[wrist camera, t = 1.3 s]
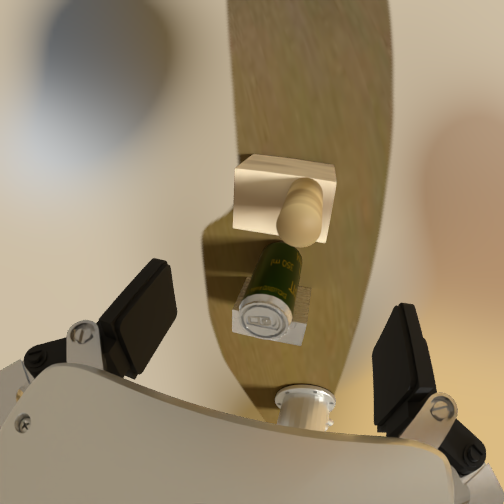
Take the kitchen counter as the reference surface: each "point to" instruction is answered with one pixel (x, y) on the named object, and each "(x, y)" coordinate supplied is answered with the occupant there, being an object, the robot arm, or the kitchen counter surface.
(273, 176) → the wooden block with peg
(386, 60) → the kitchen counter surface
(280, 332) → the beer can
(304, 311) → the grey box
